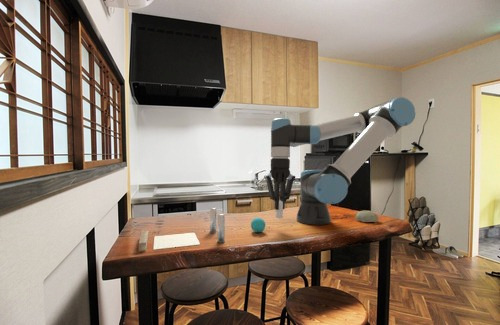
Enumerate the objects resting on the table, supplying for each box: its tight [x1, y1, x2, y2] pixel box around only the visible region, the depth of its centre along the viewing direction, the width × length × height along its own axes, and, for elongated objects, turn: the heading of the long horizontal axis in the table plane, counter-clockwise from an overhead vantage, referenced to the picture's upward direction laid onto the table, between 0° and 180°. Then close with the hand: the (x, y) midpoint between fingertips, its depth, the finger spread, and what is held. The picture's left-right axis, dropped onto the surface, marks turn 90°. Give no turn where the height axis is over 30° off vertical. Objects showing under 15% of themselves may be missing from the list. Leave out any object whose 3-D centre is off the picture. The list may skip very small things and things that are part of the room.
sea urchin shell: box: [355, 210, 380, 223], centre depth 110 cm, size 9×8×8 cm
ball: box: [250, 217, 266, 233], centre depth 92 cm, size 6×6×6 cm
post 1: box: [209, 207, 217, 234], centre depth 92 cm, size 2×2×9 cm
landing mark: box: [152, 232, 201, 251], centre depth 82 cm, size 14×14×1 cm
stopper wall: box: [138, 230, 149, 253], centre depth 78 cm, size 2×14×2 cm, turn 21°
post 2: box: [216, 213, 226, 244], centre depth 81 cm, size 2×2×9 cm
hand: (279, 217), depth 95 cm, fingers closed
